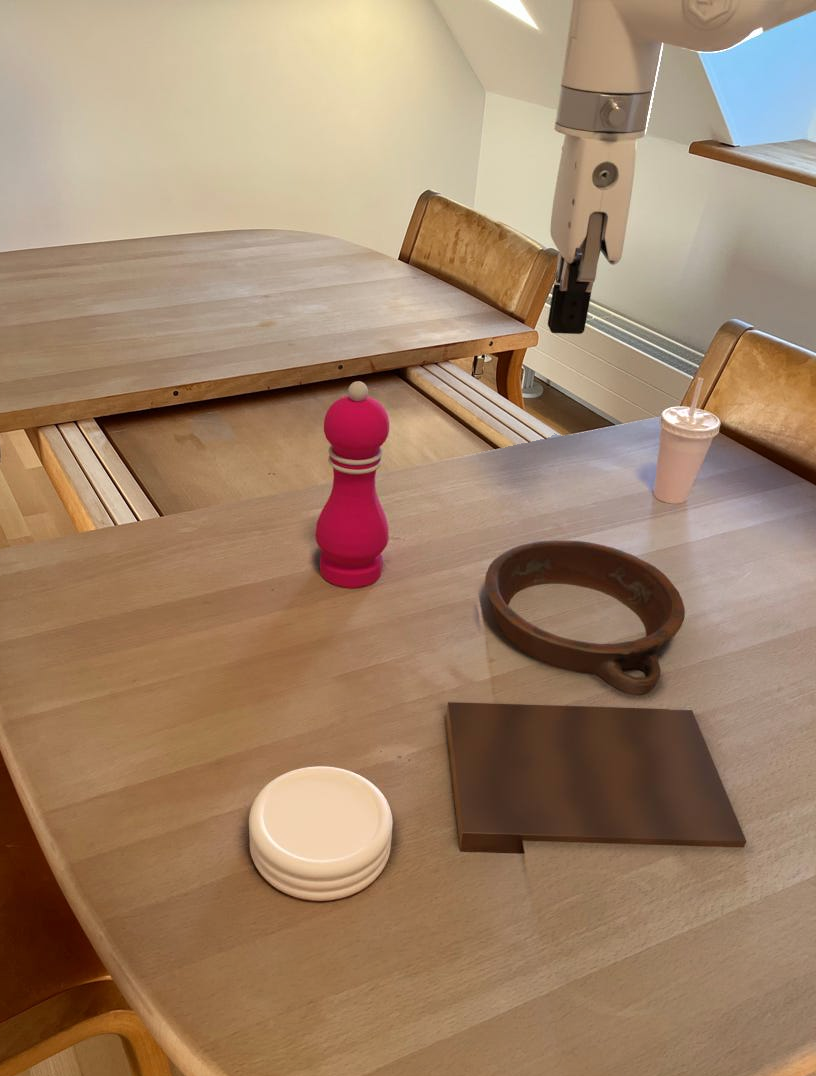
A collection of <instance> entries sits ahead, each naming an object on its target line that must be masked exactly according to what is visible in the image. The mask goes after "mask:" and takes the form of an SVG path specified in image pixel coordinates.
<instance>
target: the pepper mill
mask: <svg viewBox="0 0 816 1076" xmlns="http://www.w3.org/2000/svg"><path fill="white" fill-rule="evenodd" d="M347 394H348V395H345V396H342V397H341V398H338V399H336V400H335V401H334V402H333V403H332V404H331V405H330V406H329V408H328V409H327V411H326V413H325V416H324V420H323V432H324V436H325V439H326V440H327V442H328V443H329V444H330V446H329V447H328V454H329V455H328V458H327V459H328V464H329V465H330V466H331V468H332V472H333V480H332V488H331V491H330V495H329V497H328V499H327V501H326V503H325V504H324V506H323V507H322V509H321V512H320V514H319V516H318V519H317V521H316V527H315V535H314V536H315V542H316V544H317V546H318V548H319V549H320V550H321V552H320V555H319V573H320V575H321V576H322V577H323V579H324V580H325V581H327V582H328V583H330V584H332V585H334V586H337V587H340V588H347V589H348V588H349V589H356V588H363V587H367V586H370V585H372V584H374V583H375V582H376V581H378V580H379V579H380V577H381V575H382V570H383V555H382V553H383V552H384V551H385V549H386V548H387V546H388V544H389V539H390V536H389V535H390V531H389V523H388V520H387V516H386V513H385V510H384V508H383V506H382V504H381V501H380V499H379V496H378V493H377V489H376V488H377V487H376V475H377V470H378V469H379V468H380V467H381V466H382V464H383V459H382V456H383V449H382V446H383V445H384V443H385V442H386V441H387V439H388V436H389V433H390V419H389V414H388V412H387V409H386V408H385V407H384V406H383V405H382V403H380V402H379V401H378V400H376V399H375V398H372V397H370V396H369V395H368V394H369V389H368V387H367V385H366V384H365V383H364V382H362V381H360V380H359V381H358V380H357V381H354V382H352V383H351V384H350V385H349V386H348V391H347Z"/></svg>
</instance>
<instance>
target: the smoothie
mask: <svg viewBox="0 0 816 1076" xmlns="http://www.w3.org/2000/svg"><path fill="white" fill-rule="evenodd" d="M703 382H704V378H703V377H698V378H697V380H696V386H695V389H694V393H693V397H692V400H691V404H690V406H673V407H669V408H666V409H664V410H663V411H662V412H661V414H660V415H661V416H660V418H659V426H660V427H661V429H660V435H659V446H658V454H657V462H656V463H657V464H656V470H655V471H656V472H655V480H654V481H655V482H654V488H653V489H654V491H653V496H654V497H655V498H656V499H657V500H659V501H661V502H663V503H666V504H672V505H678V504H679V505H680V504H683V503H685V502H687V500H688V498H689V495H690V493H691V490H692V488H693V485H694V483H695V481H696V478H697V476H698V475H699V471H700V469H701V467H702V465H703V463H704V460H705V458H706V457H707V456H706V455H707V454H708V451H709V449H710V446H711V445H712V442H713V439H714V437H716V436H717V435H718V434H719V433H720V427H721V424H722V423H721V420H720V419H719V417H717V416H716V415H715V414H714V413H711V412H710V411H707V410H704V409H701V408H697V404H698V401H699V398H700V394H701V390H702V386H703V384H704V383H703Z"/></svg>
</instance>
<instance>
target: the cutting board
mask: <svg viewBox="0 0 816 1076" xmlns="http://www.w3.org/2000/svg"><path fill="white" fill-rule="evenodd" d="M445 726H446V735H447V745H448V753H449V763H450V771H451V772H450V773H451V782H452V790H453V799H454V807H455V808H454V809H455V810H454V811H455V817H456V826H457V836H458V845H459V851H460V852H472V853H474V852H477V853H478V852H480V853H504V854H505V853H507V854H508V853H509V854H525V852H526V851H525V847H524V842H546V843H547V842H551V843H552V842H553V843H580V844H581V843H582V844H583V843H584V844H617V845H643V846H644V845H647V846H648V845H649V846H679V847H680V846H681V847H711V848H712V847H713V848H741V849H742V848H745V846H746V844H747V839H746V837H745V834H744V832H743V830H742V827H741V824H740V822H739V820H738V818H737V815H736V813H735V811H734V808H733V805H732V803H731V801H730V799H729V796H728V794H727V791H726V789H725V785H724V784H723V781H722V778H721V777H720V774H719V771H718V769H717V767H716V765H715V763H714V760H713V757H712V755H711V753H710V750H709V747H708V744H707V742H706V740H705V738H704V735H703V733H702V731H701V729H700V726H699V723H698V721H697V719H696V716H695V714H694V711H693V709H679V708H677V709H675V708H646V707H645V708H644V707H615V706H585V705H584V706H583V705H552V704H551V705H547V704H517V703H515V704H514V703H489V702H485V703H484V702H457V701H455V702H454V701H451V702H450V701H448V702H447V708H446V715H445Z"/></svg>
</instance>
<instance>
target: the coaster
mask: <svg viewBox="0 0 816 1076" xmlns="http://www.w3.org/2000/svg"><path fill="white" fill-rule="evenodd" d="M393 825H394V821H393V814H392V811H391V807H390V805H389V802H388V800H387V798H386V797H385V796H384V794H383V792H381V790H380V789H379V788H378V787H377V786H375V784H373V783H372V782H371V781H370V780H368V779H367V778H365V777H363V776H361V775H360V774H357V773H355V772H353V771H351V770H347V769H344V768H340V767H333V766H323V765H322V766H320V765H318V766H307V767H301V768H298V769H293V770H291V771H288V772H285V773H283V774H281V775H279V776H277V777H275V778H274V779H273V780H271V781H270V782H269V783H267V784H266V785H265V786H263V788H262V789H261V790H260V791H259V793H258V794H257V795H256V797H255V799H254V800H253V803H252V805H251V807H250V811H249V815H248V831H249V832H248V836H249V837H248V838H249V852H250V856H251V859H252V861H253V864H254V866H255V868H256V869H257V871H258V872H259V873H260V875H261V876H262V877H263V878H264V880H265V881H267V882H268V884H269V885H271V886H273V887H274V888H275V889H277V890H278V891H280V892H281V893H284V894H287V895H288V896H292V897H293V898H297V899H302V900H307V901H318V902H322V901H323V902H324V901H325V902H326V901H333V900H340V899H344V898H346V897H350V896H352V895H355V894H357V893H359V892H360V891H362V890H364V889H366V888H367V887H369V886H370V885H371V884H372V883H374V881H375V880H376V879H377V878H378V877H379V876H380V874H382V872H383V870H384V869H385V867H386V865H387V863H388V860H389V857H390V854H391V847H392V837H393V833H392V832H393Z"/></svg>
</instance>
